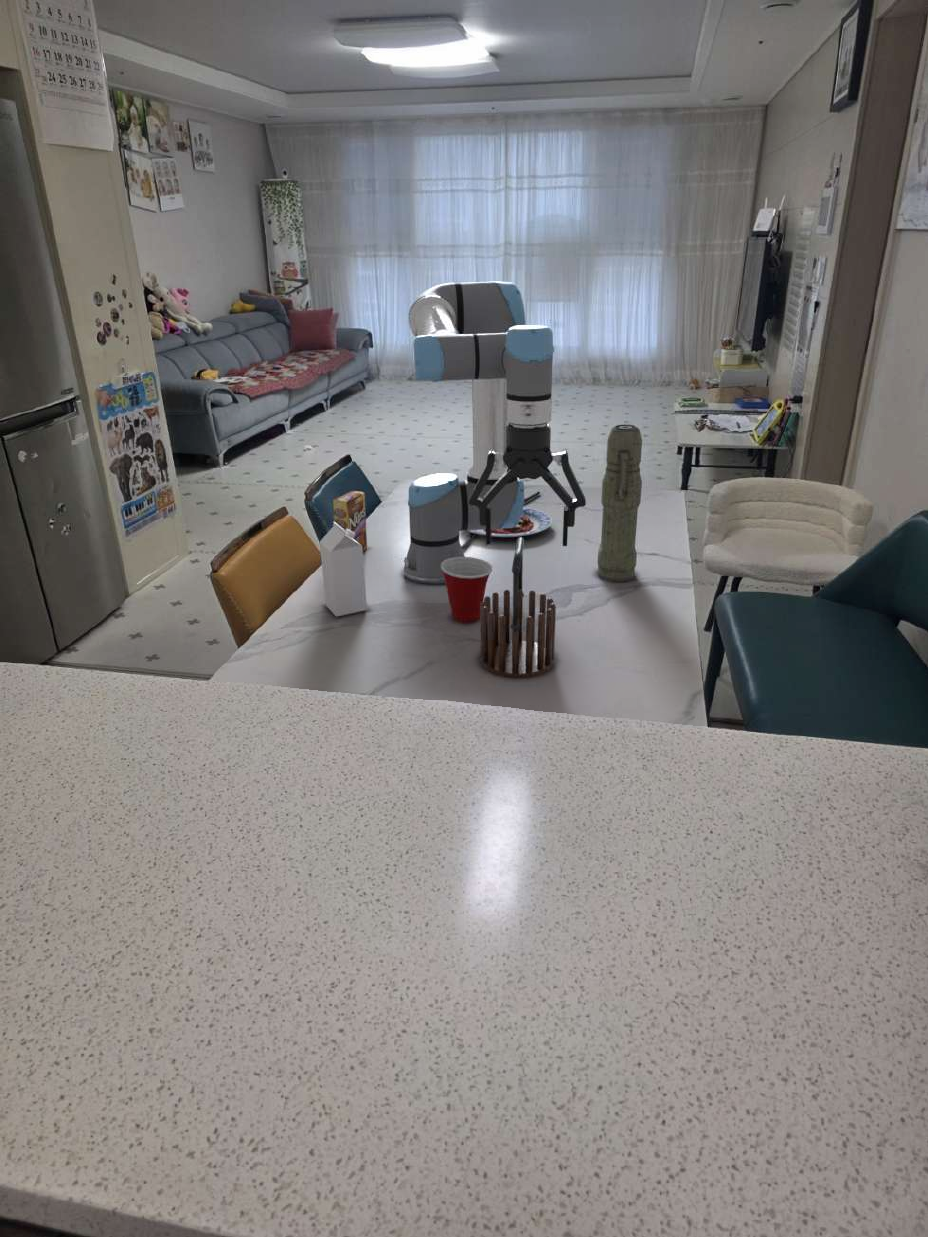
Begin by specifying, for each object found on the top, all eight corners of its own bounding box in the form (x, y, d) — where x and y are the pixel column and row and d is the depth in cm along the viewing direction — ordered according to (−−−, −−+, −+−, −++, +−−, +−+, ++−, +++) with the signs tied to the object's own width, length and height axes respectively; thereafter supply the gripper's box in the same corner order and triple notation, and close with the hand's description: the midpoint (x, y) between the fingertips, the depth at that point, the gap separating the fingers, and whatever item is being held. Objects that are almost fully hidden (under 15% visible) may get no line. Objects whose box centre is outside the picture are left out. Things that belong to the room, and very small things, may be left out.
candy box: (350, 559, 208) (345, 501, 201) (336, 557, 209) (331, 499, 203) (368, 548, 215) (364, 491, 209) (354, 546, 217) (350, 490, 210)
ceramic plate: (568, 522, 231) (568, 511, 230) (524, 549, 212) (524, 538, 211) (489, 508, 244) (489, 499, 243) (441, 533, 225) (440, 523, 223)
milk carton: (336, 617, 176) (328, 533, 168) (325, 605, 182) (317, 524, 174) (367, 610, 179) (361, 527, 171) (355, 599, 185) (349, 518, 177)
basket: (483, 535, 156) (558, 537, 155) (484, 639, 165) (554, 642, 164) (475, 566, 142) (556, 568, 140) (476, 679, 151) (553, 682, 149)
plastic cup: (488, 630, 170) (487, 575, 164) (436, 626, 172) (435, 572, 167) (496, 608, 179) (496, 556, 174) (448, 605, 181) (446, 554, 176)
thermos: (631, 565, 201) (641, 420, 186) (638, 584, 190) (650, 432, 175) (594, 565, 201) (602, 421, 186) (599, 584, 190) (608, 432, 176)
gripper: (452, 428, 136) (454, 549, 145) (604, 428, 133) (598, 551, 143) (456, 418, 143) (459, 534, 152) (602, 419, 140) (596, 536, 149)
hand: (526, 543), depth 147 cm, fingers open, 13 cm apart
